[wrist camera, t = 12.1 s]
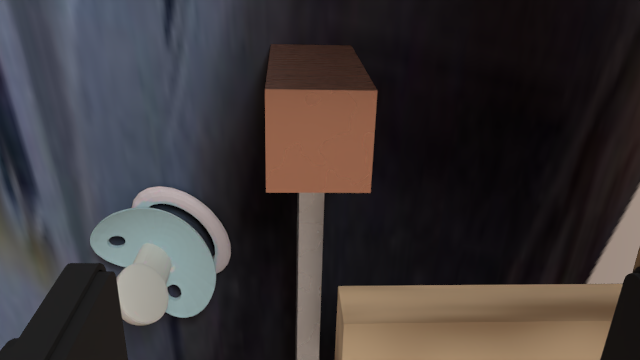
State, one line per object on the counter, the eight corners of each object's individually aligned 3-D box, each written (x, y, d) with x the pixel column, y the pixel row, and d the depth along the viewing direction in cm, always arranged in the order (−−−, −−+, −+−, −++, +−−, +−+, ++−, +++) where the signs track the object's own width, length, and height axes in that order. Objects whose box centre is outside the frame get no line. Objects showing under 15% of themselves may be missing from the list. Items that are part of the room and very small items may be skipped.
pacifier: (164, 158, 31) (86, 225, 32) (140, 207, 25) (46, 286, 26) (255, 248, 33) (180, 307, 34) (253, 311, 28) (162, 380, 29)
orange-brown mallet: (270, 44, 29) (264, 89, 20) (351, 45, 29) (377, 90, 21) (272, 364, 36) (268, 491, 28) (336, 363, 37) (350, 488, 28)
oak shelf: (324, 194, 32) (343, 323, 21) (687, 195, 33) (874, 317, 23) (318, 354, 36) (333, 526, 26) (640, 349, 38) (779, 511, 27)
